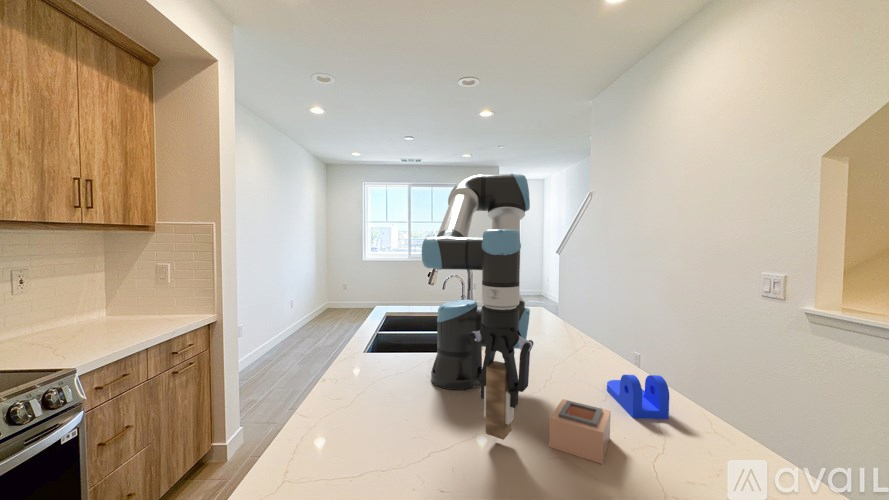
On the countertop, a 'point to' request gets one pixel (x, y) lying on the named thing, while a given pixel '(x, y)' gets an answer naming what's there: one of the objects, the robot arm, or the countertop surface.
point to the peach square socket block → (580, 430)
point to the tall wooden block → (496, 400)
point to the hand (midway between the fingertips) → (498, 417)
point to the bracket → (641, 396)
